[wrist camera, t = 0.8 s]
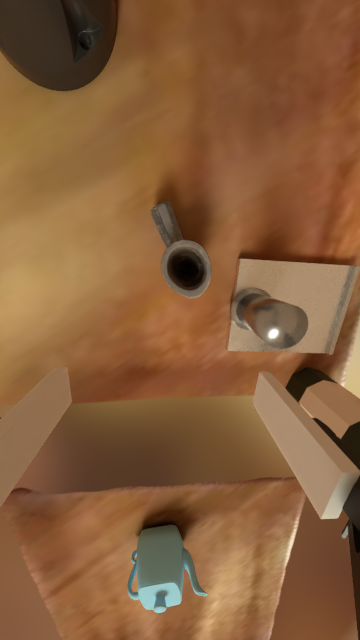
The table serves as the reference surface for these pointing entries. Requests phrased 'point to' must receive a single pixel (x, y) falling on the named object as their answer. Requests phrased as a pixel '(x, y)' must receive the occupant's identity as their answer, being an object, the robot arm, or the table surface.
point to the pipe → (181, 255)
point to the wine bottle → (328, 404)
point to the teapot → (161, 569)
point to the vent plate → (295, 292)
